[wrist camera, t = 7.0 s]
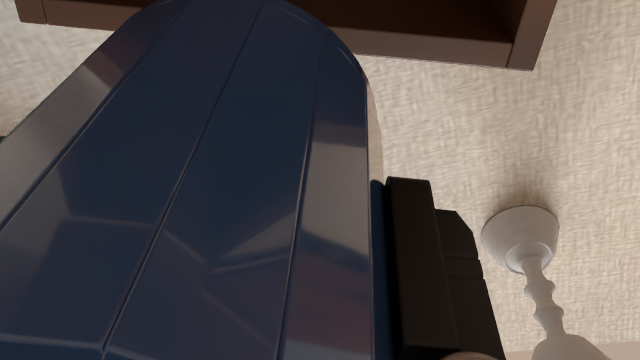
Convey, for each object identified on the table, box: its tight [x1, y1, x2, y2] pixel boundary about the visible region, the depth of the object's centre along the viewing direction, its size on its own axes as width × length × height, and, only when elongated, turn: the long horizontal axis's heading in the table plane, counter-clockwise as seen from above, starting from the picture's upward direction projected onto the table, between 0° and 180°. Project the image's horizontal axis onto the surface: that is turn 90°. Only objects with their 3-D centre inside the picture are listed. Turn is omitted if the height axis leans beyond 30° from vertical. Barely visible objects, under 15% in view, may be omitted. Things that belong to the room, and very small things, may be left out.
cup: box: [0, 0, 396, 360], centre depth 9 cm, size 6×6×8 cm
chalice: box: [481, 206, 611, 360], centre depth 28 cm, size 7×7×18 cm
